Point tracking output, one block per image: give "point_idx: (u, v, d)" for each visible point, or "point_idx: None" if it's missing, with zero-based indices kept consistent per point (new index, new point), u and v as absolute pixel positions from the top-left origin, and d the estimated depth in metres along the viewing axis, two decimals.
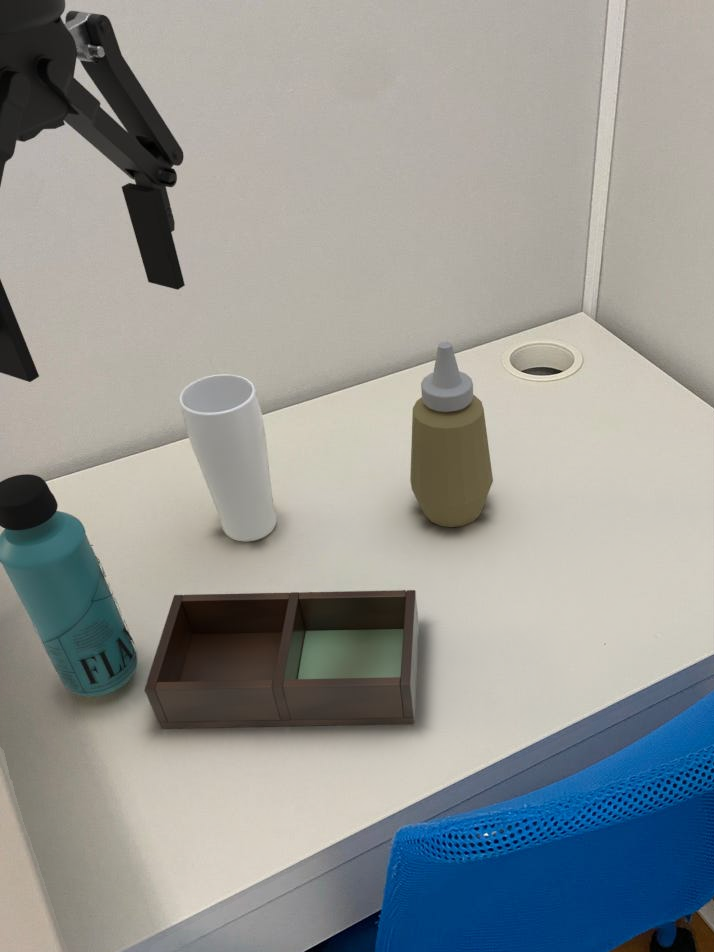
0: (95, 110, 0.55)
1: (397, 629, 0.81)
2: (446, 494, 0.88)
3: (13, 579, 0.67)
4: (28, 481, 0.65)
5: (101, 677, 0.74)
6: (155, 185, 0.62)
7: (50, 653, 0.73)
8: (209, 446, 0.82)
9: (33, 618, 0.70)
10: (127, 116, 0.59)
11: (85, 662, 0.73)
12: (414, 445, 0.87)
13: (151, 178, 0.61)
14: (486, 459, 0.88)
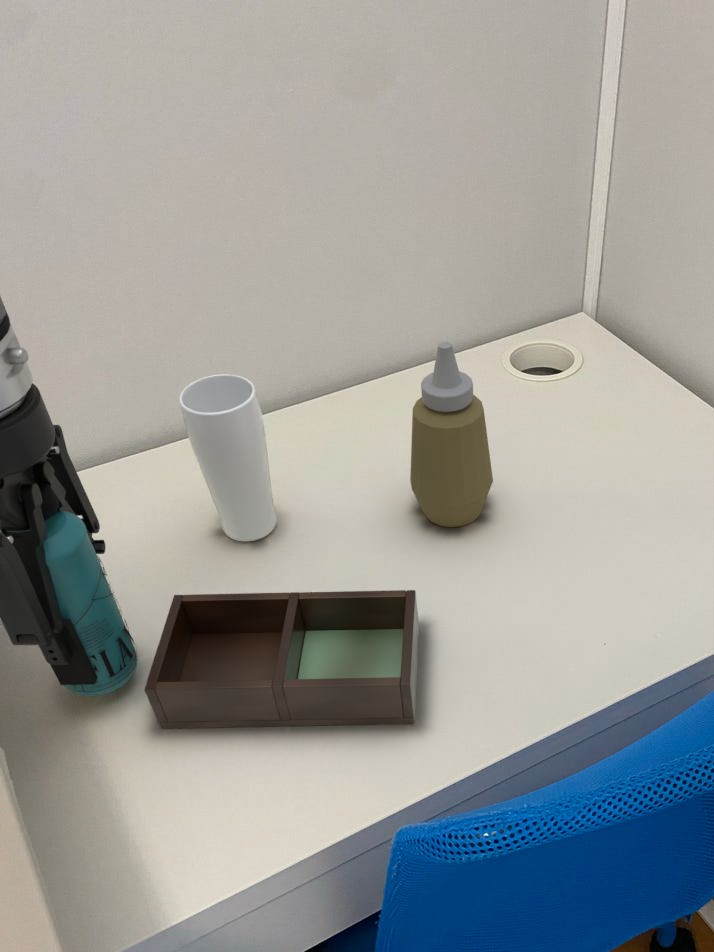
0: (64, 497, 0.68)
1: (397, 629, 0.81)
2: (446, 494, 0.88)
3: None
4: None
5: (101, 676, 0.74)
6: None
7: None
8: (209, 446, 0.82)
9: None
10: None
11: None
12: (414, 445, 0.87)
13: None
14: (486, 459, 0.88)
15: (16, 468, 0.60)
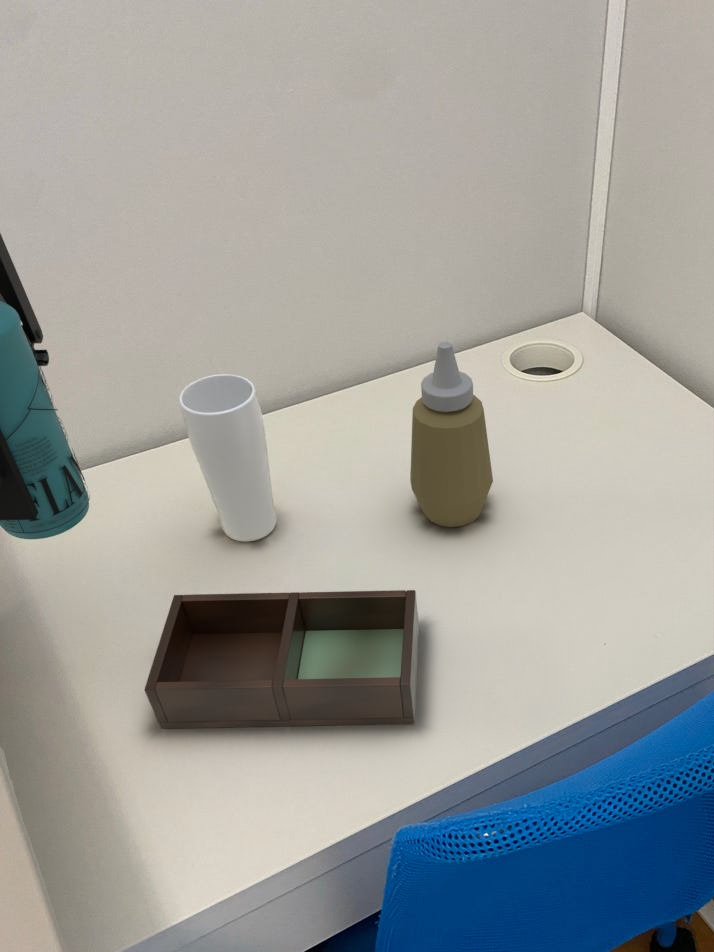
0: None
1: (397, 629, 0.81)
2: (446, 494, 0.88)
3: None
4: None
5: (43, 513, 0.62)
6: None
7: None
8: (209, 446, 0.82)
9: None
10: None
11: None
12: (414, 445, 0.87)
13: None
14: (486, 459, 0.88)
15: None
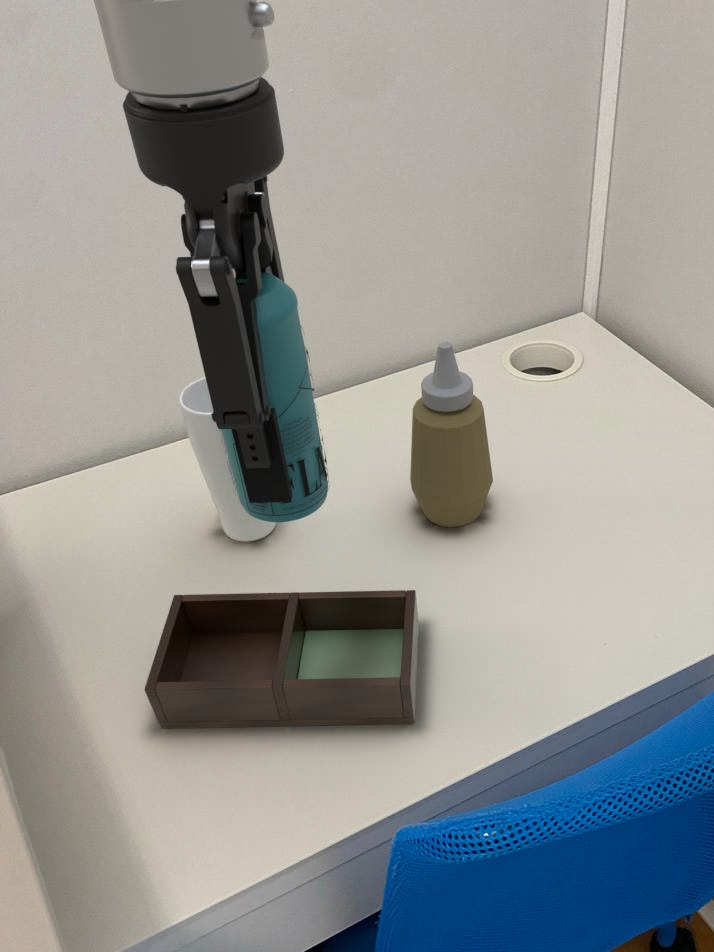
0: (272, 254, 0.55)
1: (397, 629, 0.81)
2: (446, 494, 0.88)
3: None
4: None
5: (295, 495, 0.62)
6: None
7: None
8: (209, 446, 0.82)
9: None
10: None
11: None
12: (414, 445, 0.87)
13: None
14: (486, 459, 0.88)
15: (247, 175, 0.47)
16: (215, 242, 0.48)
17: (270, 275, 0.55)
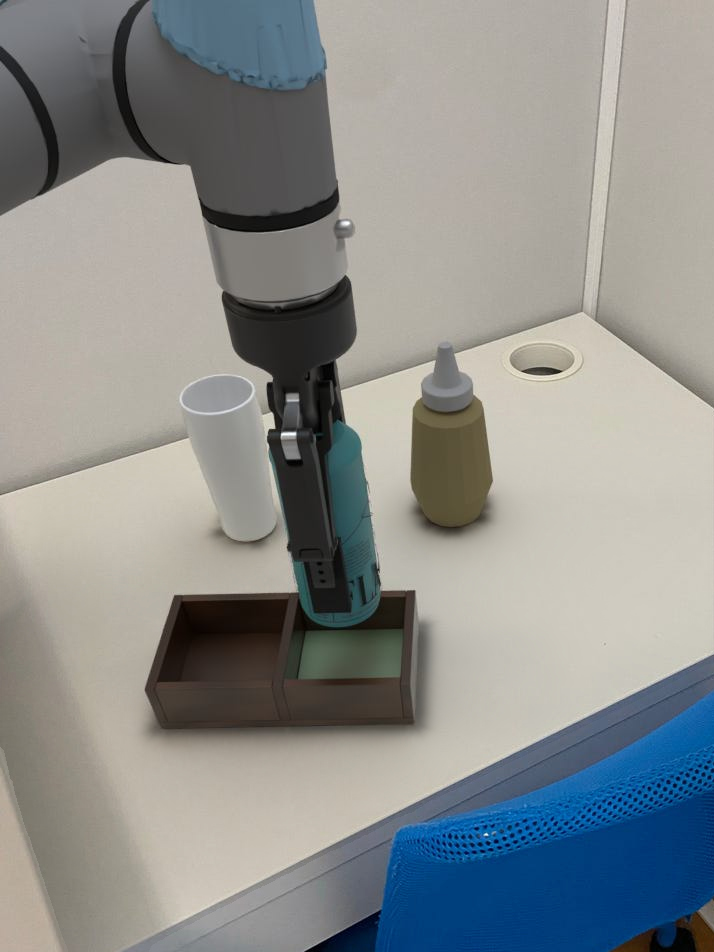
0: None
1: (397, 629, 0.81)
2: (446, 495, 0.88)
3: None
4: None
5: (354, 604, 0.69)
6: None
7: (305, 577, 0.67)
8: (209, 446, 0.82)
9: None
10: None
11: None
12: (414, 445, 0.87)
13: None
14: (486, 459, 0.88)
15: (328, 358, 0.54)
16: (299, 414, 0.55)
17: (338, 422, 0.62)
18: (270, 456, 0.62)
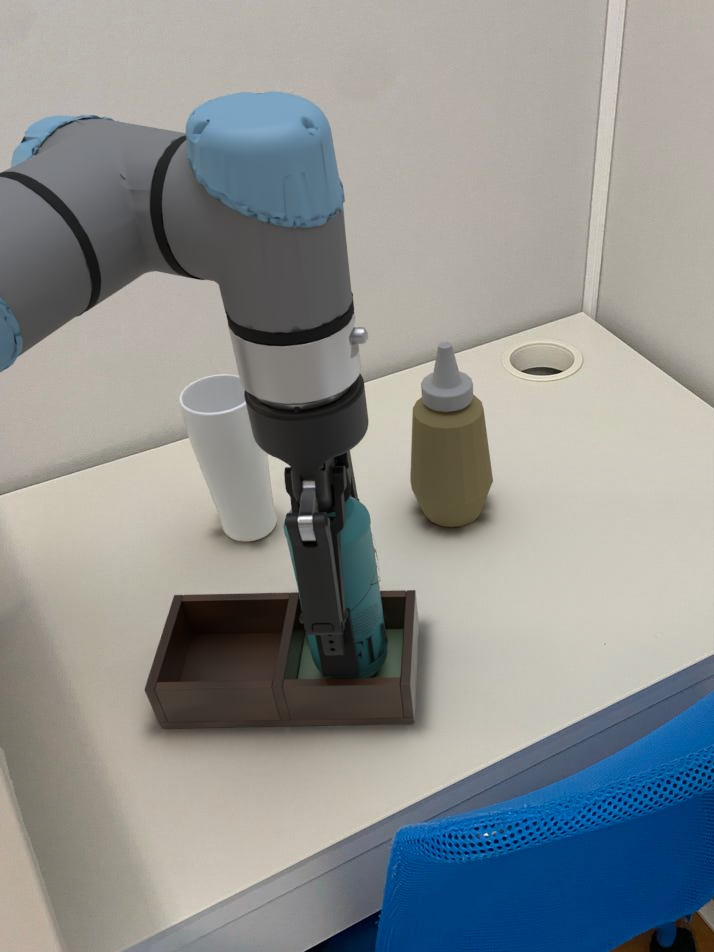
0: (351, 478, 0.67)
1: (397, 629, 0.81)
2: (446, 494, 0.88)
3: None
4: None
5: (363, 662, 0.73)
6: None
7: None
8: (209, 446, 0.82)
9: None
10: None
11: None
12: (414, 445, 0.87)
13: None
14: (486, 459, 0.88)
15: (342, 450, 0.59)
16: (315, 499, 0.59)
17: (348, 498, 0.67)
18: (285, 531, 0.66)
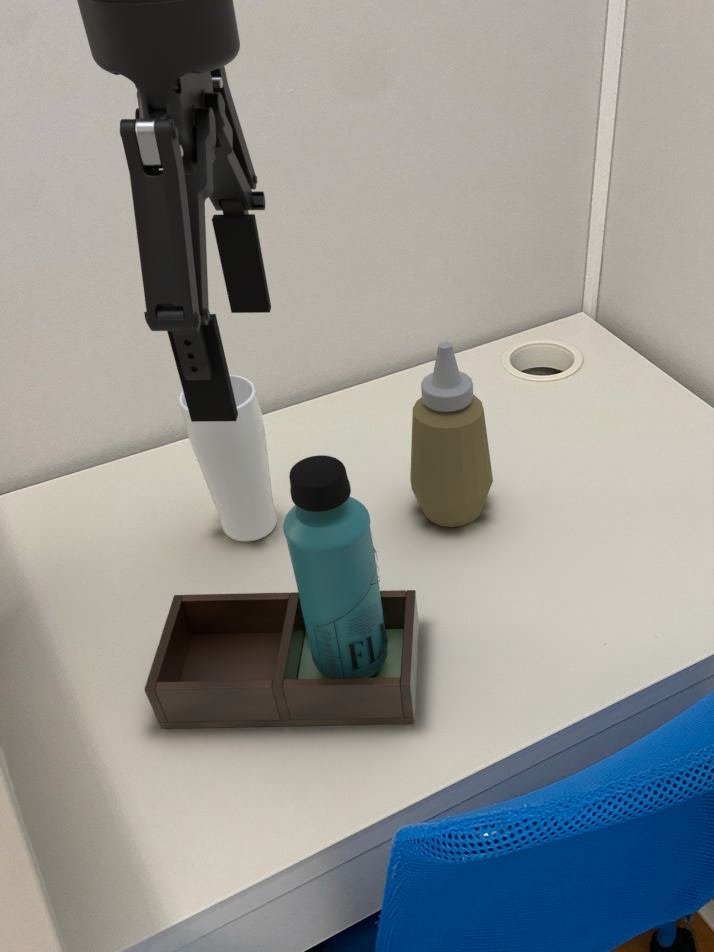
0: (232, 140, 0.55)
1: (397, 629, 0.81)
2: (446, 494, 0.88)
3: (302, 562, 0.66)
4: (326, 462, 0.64)
5: (363, 662, 0.73)
6: (245, 211, 0.62)
7: (317, 637, 0.72)
8: (209, 446, 0.82)
9: (310, 602, 0.69)
10: None
11: (353, 647, 0.72)
12: (414, 445, 0.87)
13: (248, 204, 0.61)
14: (486, 459, 0.88)
15: (200, 63, 0.47)
16: (165, 119, 0.47)
17: (348, 498, 0.67)
18: (285, 531, 0.66)
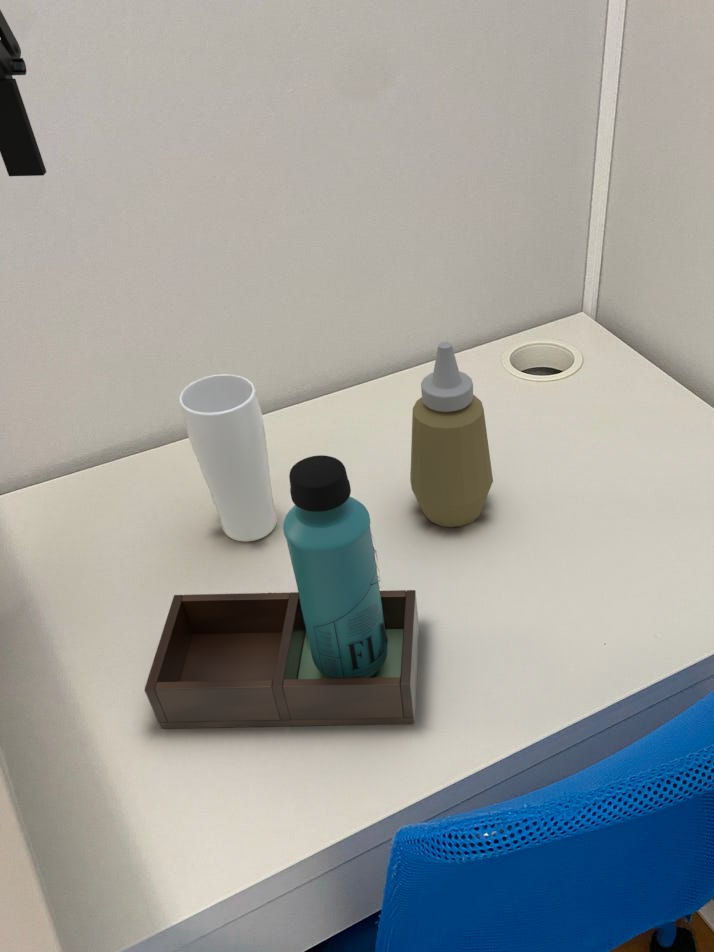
0: None
1: (397, 629, 0.81)
2: (446, 494, 0.88)
3: (302, 562, 0.66)
4: (326, 462, 0.64)
5: (363, 662, 0.73)
6: (7, 76, 0.69)
7: (317, 638, 0.72)
8: (209, 446, 0.82)
9: (310, 602, 0.69)
10: None
11: (353, 647, 0.72)
12: (414, 445, 0.87)
13: (6, 68, 0.68)
14: (486, 459, 0.88)
15: None
16: None
17: (348, 498, 0.67)
18: (285, 531, 0.66)
